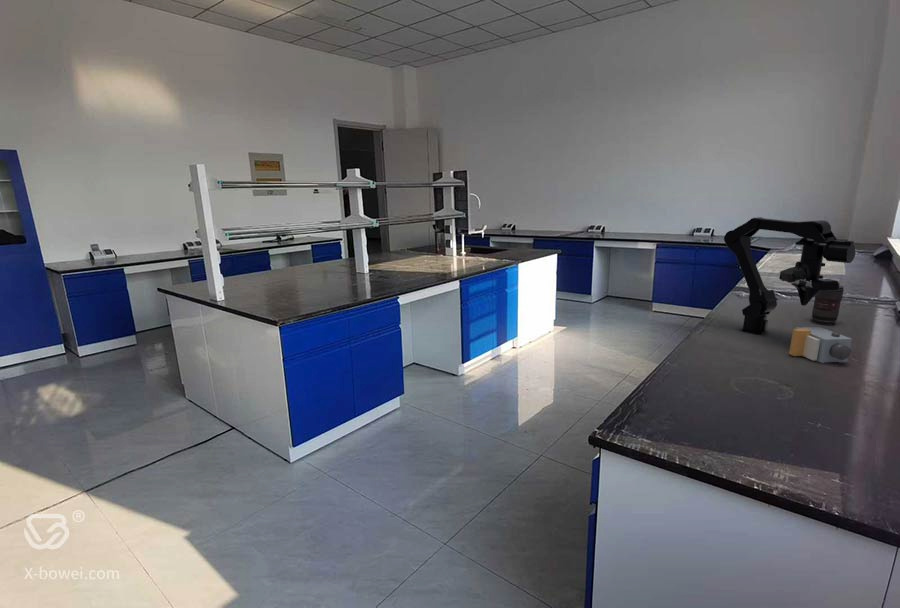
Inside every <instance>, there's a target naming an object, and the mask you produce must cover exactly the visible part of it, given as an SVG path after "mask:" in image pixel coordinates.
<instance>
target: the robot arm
mask: <svg viewBox="0 0 900 608" xmlns="http://www.w3.org/2000/svg"><path fill="white" fill-rule="evenodd" d="M760 230H763V231H773V232H779V233H788V234H793V235H796V236H797V237H800V238H801V239H799V240H797V241H796V242H795V245H799V246H802V248H801V249H802V250H801V255H800V259H799V261H796V262H795V265H794V266H793V267H788V268H786V269H783V270H780V271H779V278H778V279H779V280H781V281H782V282H787V284H788V283H789V284H790V285H791V286H793V287H794V288H796V290H797V293H798V298H799V301H800V305H801V306H807V305H808V304H809V302H810V301H811V300H812V299H813V298H814V297H815V294H816V293H817V292H818V291H819V290H838V289H839V285H840V282H839V281H838V280H834V279H831V278H824V275H821V270H822V267H825V266H826V263H825V262H823V260H824V259H825V260H826V261H827V262H832V263H842V264H851V263H852V262H853V260H854V258H855V256H856V252H857V251H856V248H855V244H854V243H855V241H854V240H838V238H837V236H835V234H834V232H833V231H832V226H831V223H829V221H827V220H807V221H796V220H795V221H794V220H783V219H774V218H773V219H772V218H765V217H761V216H759V217H752V218H751V219H749V220H747V222H745V223H743V224H741V225H739V226H737V227H736V228H734V229H730V230H729V231H726V233H725V235H724V237H723V240H724V243H725V245H726V246H727V248H728V249H729V251H731V252H732V253H733V254H734V255H735V258H736V260H737V262H738V265H739V268H740V270H741V273H742V275H743V278H744V280H745V283H746V285H747V288H748V290H749V292H748V293H749V294H748V303H749V305H747V306H745V307H743V308H742V309H741V311H742V316H744V317H743V326H742V328H741V329H740V331H742V332H746V333H751V334H758V335H763V334H764V333H765V332H766V331H767V330H768V323H769V321H768V319H767V318H768V315H770V313H771V311H774V310H775V309H776V307H777V306H778V302H777V301H779V300H778V298H777V297H776V294H775V291H774V289H768V288H766V286H765V284H764V281H763V279H762V276H761V274H760V273H759V269H758V266H757V264H756V261H755V259H754V256H753V254H752V252H751V246H752V241H751V238H752V237H753V236H755V235H756V234H757V233H758V232H759V231H760Z"/></svg>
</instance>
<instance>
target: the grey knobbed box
mask: <svg viewBox="0 0 900 608" xmlns="http://www.w3.org/2000/svg"><path fill="white" fill-rule="evenodd" d="M794 329H807V330H810V331H811V334H810V336H812V337H814V338H817V339H819V340H820V345H819V350H818V356H817V360H815V361H816V362H818V361H819V362H818V363H820V362H821V363H822V364H825V363H824V362H839V363H848V360H849V357H851V354H852V350H851V347H852V341H853V338H851V337H848V336H845V335H843V334H841V333H839V332H835V331H831V330H829V329H826V328H823V327H820V326H814V327H813V326H809V327H808V326H806V327H795V328H794Z"/></svg>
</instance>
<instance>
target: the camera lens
mask: <svg viewBox="0 0 900 608" xmlns="http://www.w3.org/2000/svg"><path fill="white" fill-rule="evenodd" d="M844 287H845V286H843V285H839V289H838V290H819V291H818V292H817V293H816V294H815V295H814V301H813V307H812V312H811V318H812V323H814V322H815V323H814V324H817V323H819V324H818V325H822V324H825V325H824V326H833V325H835V323H836V321H837V320H838V317H839V313H840V308H841V307H840V306H841V302H842V299H843V295H844V290H845V289H844Z"/></svg>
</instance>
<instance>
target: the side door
mask: <svg viewBox="0 0 900 608" xmlns="http://www.w3.org/2000/svg"><path fill="white" fill-rule="evenodd" d="M810 334H811V331H810V330H807V329H795V328H793V330H792V334H791V335H792V336H791V341H790V347H789V351H788V352H789V355H791V356H794V357H805V358H807V359H808V360H810V361H816V360H817V356H818V350H819V345H820V340H819V339H817V338H814V337H812V336H810Z"/></svg>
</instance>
